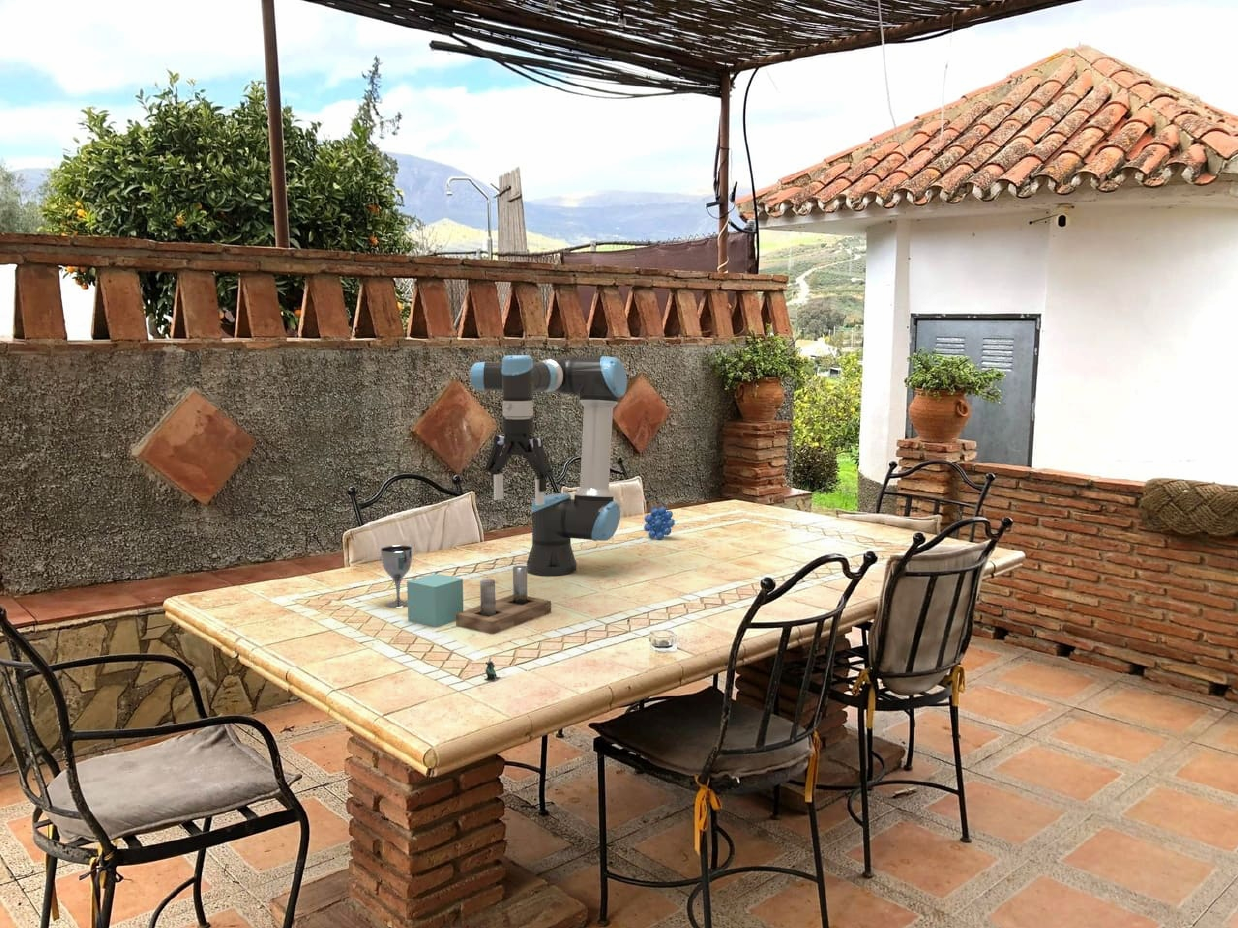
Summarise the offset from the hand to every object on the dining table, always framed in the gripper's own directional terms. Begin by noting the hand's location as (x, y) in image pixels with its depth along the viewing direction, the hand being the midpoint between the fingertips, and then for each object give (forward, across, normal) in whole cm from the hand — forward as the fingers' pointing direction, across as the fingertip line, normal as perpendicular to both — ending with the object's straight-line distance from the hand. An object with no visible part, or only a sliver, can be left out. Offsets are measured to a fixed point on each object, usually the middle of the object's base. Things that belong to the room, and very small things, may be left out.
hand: (519, 502), depth 235 cm
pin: (+29, 0, 0) cm, 29 cm away
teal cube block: (+29, -14, -16) cm, 36 cm away
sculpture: (+29, +26, -39) cm, 56 cm away
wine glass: (+29, -32, -12) cm, 45 cm away
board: (+29, 0, -6) cm, 29 cm away
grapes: (+29, -19, +97) cm, 103 cm away
